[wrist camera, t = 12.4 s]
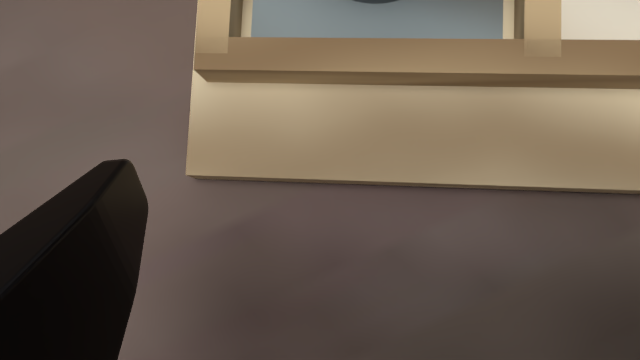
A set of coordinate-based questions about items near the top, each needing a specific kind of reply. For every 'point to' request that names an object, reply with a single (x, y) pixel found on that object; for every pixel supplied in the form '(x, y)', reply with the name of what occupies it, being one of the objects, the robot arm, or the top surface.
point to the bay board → (419, 93)
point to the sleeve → (375, 1)
